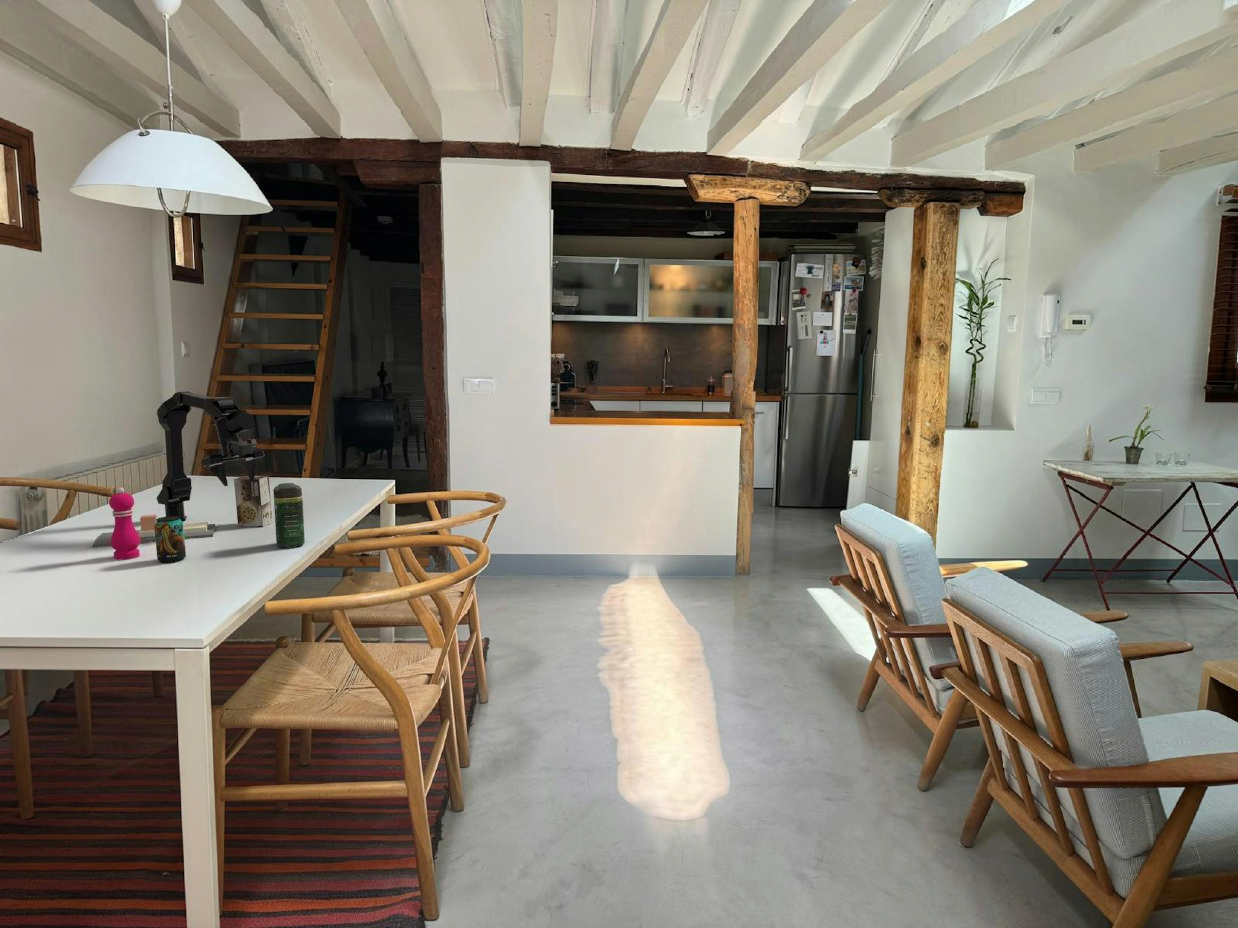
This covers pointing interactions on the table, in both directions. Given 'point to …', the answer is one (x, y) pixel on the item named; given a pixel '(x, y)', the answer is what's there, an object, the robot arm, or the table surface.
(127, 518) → the pepper mill
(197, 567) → the table surface
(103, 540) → the mat
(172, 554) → the beverage can
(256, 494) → the coffee box
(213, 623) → the table surface
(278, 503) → the coffee jar
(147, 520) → the stub
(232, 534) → the table surface
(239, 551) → the table surface
